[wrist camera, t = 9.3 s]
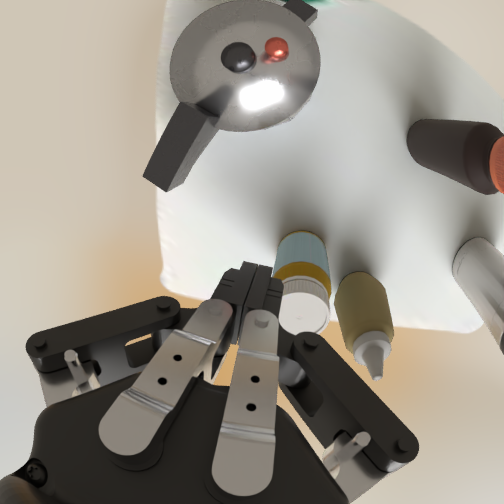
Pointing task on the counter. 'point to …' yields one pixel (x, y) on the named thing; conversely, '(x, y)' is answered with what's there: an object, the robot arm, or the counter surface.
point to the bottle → (303, 283)
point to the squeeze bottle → (365, 320)
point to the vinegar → (460, 152)
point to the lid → (233, 80)
